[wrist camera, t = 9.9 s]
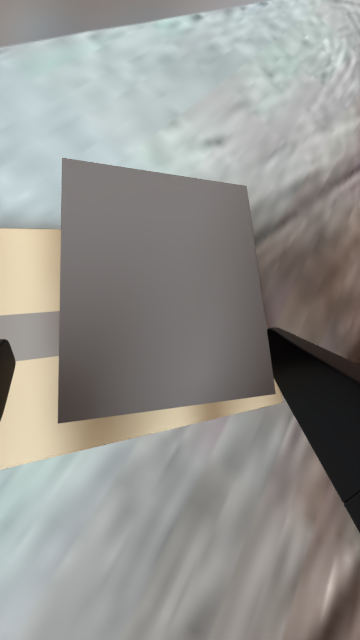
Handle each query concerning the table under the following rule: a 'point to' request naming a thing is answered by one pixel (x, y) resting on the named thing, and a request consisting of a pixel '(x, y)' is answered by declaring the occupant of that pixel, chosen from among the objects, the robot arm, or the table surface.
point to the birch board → (43, 364)
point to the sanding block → (156, 294)
